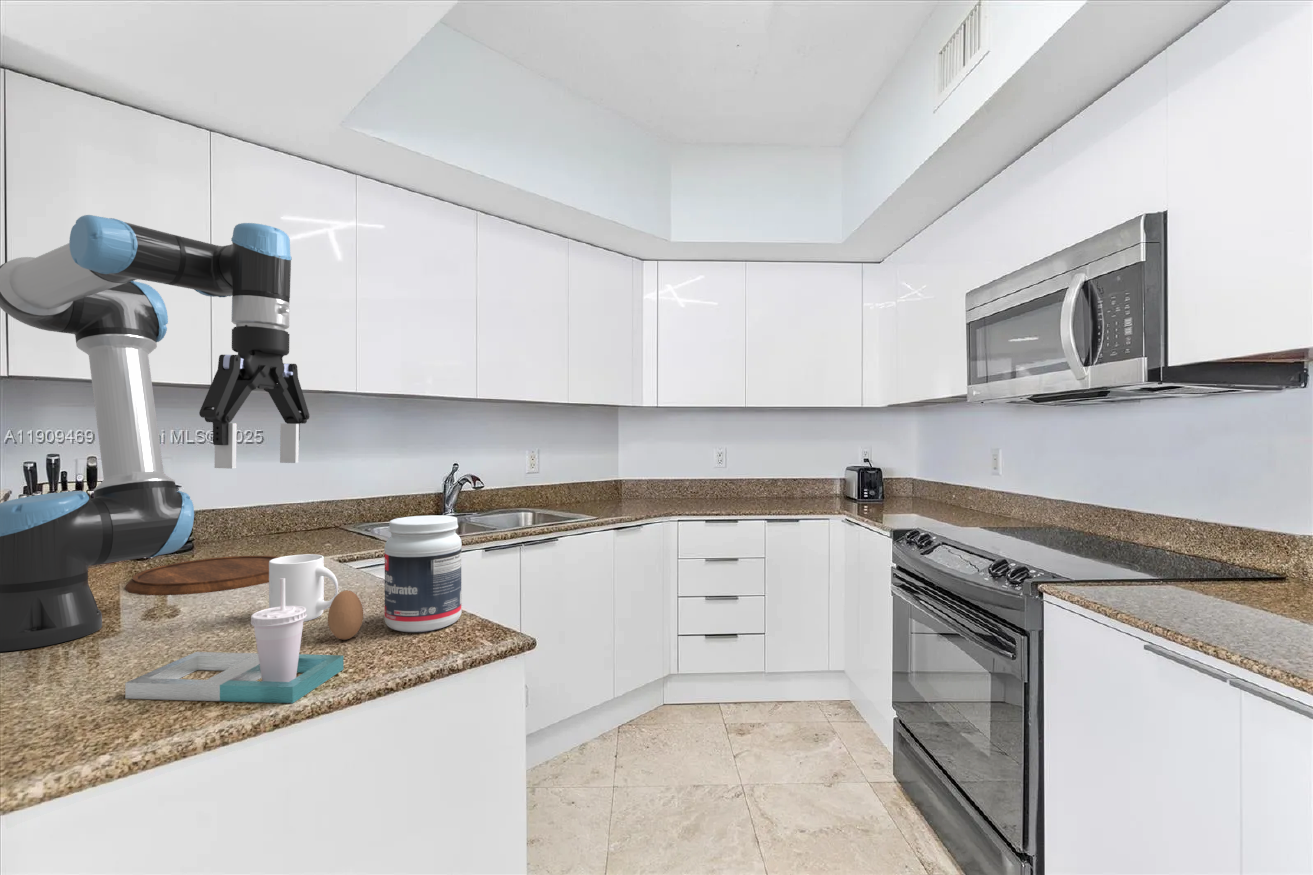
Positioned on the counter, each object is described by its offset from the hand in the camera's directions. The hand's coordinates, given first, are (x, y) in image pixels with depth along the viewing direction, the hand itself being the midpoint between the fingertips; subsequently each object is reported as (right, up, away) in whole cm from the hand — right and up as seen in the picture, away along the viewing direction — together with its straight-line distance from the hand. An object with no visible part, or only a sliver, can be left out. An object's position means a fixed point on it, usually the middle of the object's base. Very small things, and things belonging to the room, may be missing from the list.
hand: (259, 465), depth 95 cm
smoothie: (+11, -29, -14) cm, 34 cm away
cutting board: (-41, -29, +48) cm, 70 cm away
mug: (-2, -29, +16) cm, 33 cm away
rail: (+6, -29, -13) cm, 32 cm away
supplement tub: (+21, -29, +13) cm, 38 cm away
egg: (+11, -29, +5) cm, 31 cm away
